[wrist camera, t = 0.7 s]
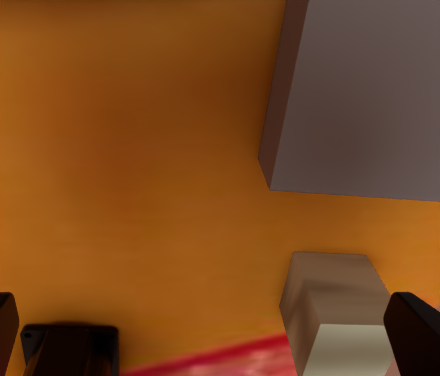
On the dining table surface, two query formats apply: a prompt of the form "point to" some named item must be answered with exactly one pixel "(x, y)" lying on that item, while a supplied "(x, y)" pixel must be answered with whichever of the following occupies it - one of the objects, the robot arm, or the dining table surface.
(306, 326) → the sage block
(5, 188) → the dining table surface
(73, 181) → the dining table surface
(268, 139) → the stack pad
